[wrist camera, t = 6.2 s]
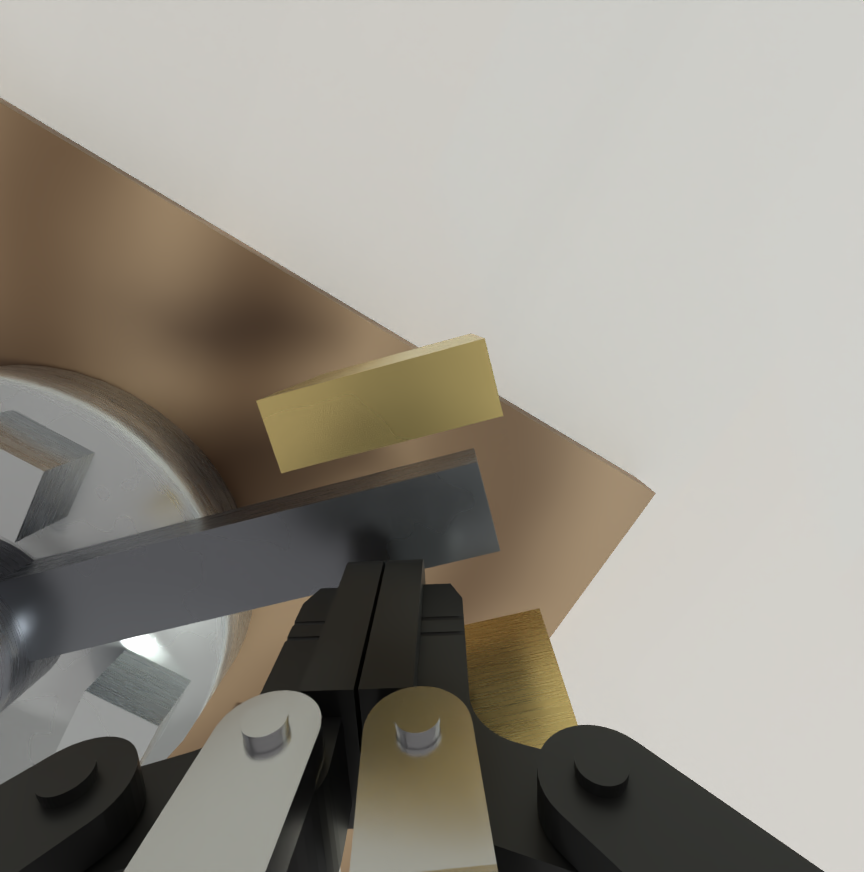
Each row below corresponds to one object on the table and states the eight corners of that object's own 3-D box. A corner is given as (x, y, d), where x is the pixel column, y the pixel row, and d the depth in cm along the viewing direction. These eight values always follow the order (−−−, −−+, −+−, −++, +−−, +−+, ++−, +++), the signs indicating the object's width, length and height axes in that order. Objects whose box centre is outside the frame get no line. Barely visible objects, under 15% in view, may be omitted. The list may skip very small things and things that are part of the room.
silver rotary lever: (-221, 426, 14) (-867, 525, 7) (439, 233, 13) (431, 120, 6) (-32, 767, 17) (-380, 1088, 10) (542, 642, 15) (626, 918, 8)
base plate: (-246, 562, 17) (-319, 587, 16) (-90, 43, 14) (-164, 5, 12) (361, 860, 19) (353, 910, 18) (636, 477, 16) (658, 496, 14)
